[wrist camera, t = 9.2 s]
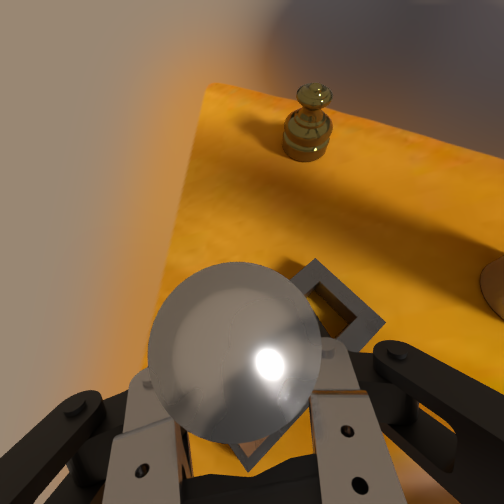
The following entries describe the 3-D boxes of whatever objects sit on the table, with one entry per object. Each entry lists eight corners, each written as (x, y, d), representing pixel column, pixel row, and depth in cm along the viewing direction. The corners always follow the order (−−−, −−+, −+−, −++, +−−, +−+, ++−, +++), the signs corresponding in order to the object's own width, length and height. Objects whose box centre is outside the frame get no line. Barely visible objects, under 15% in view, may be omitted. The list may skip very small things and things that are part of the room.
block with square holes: (310, 268, 35) (315, 256, 32) (374, 328, 31) (387, 321, 28) (187, 375, 29) (180, 373, 26) (248, 464, 25) (247, 473, 22)
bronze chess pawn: (325, 133, 47) (342, 71, 38) (327, 164, 43) (345, 105, 34) (283, 130, 47) (289, 69, 38) (280, 161, 43) (287, 101, 35)
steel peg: (250, 333, 17) (244, 235, 7) (290, 380, 16) (358, 347, 6) (205, 373, 16) (115, 330, 6) (244, 427, 15) (219, 498, 4)
